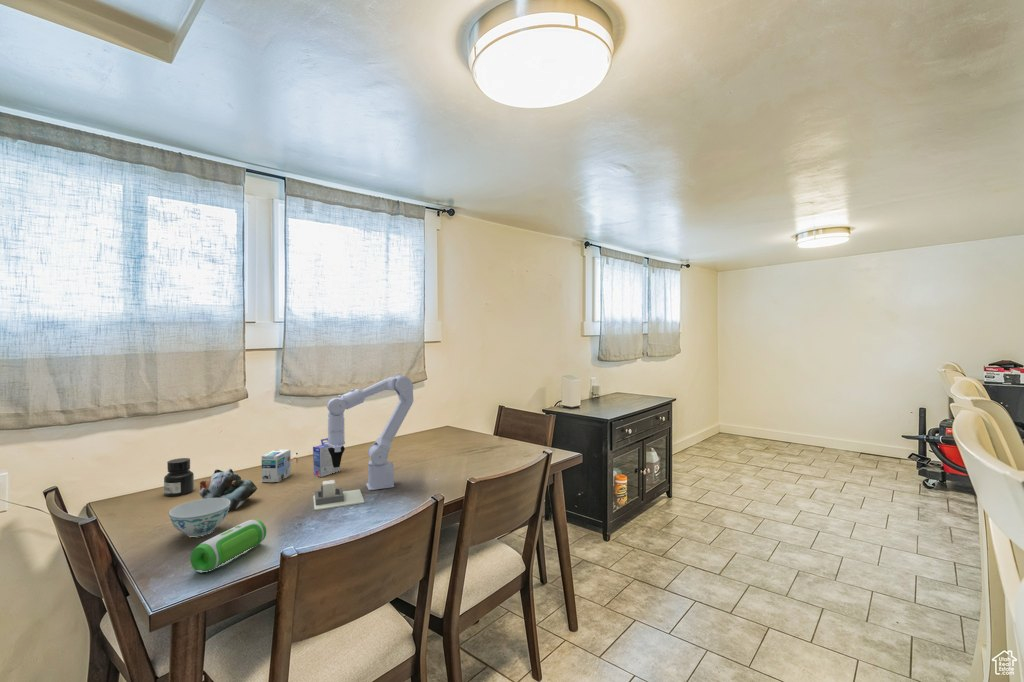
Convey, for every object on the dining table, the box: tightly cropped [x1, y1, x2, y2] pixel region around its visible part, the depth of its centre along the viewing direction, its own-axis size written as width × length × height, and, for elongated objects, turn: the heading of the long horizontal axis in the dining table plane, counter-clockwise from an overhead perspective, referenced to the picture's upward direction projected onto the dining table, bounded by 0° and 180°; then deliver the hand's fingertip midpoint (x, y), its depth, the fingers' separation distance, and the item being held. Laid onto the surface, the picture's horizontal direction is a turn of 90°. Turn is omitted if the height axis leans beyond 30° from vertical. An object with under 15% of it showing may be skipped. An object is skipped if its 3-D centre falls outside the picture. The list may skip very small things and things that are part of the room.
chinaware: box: [168, 498, 230, 537], centre depth 135 cm, size 15×15×8 cm
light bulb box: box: [261, 448, 292, 483], centre depth 185 cm, size 11×7×11 cm, turn 179°
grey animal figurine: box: [198, 468, 258, 512], centre depth 156 cm, size 15×12×14 cm
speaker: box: [189, 518, 267, 571], centre depth 120 cm, size 18×7×8 cm, turn 165°
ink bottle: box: [163, 457, 195, 497], centre depth 169 cm, size 10×9×12 cm
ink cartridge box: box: [312, 437, 341, 478], centre depth 192 cm, size 10×6×14 cm, turn 148°
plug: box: [320, 479, 336, 498], centre depth 161 cm, size 5×4×6 cm
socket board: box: [312, 487, 365, 512], centre depth 161 cm, size 16×14×2 cm
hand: (336, 466), depth 169 cm, fingers closed
